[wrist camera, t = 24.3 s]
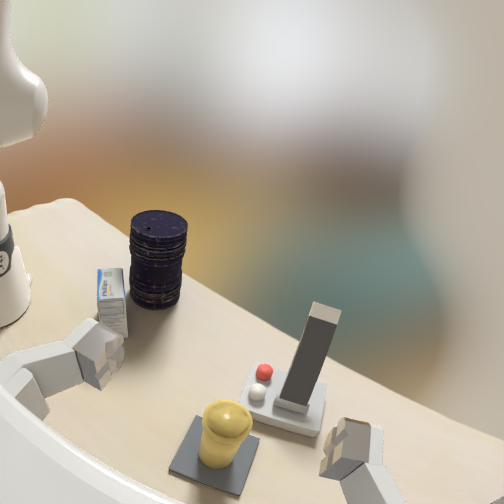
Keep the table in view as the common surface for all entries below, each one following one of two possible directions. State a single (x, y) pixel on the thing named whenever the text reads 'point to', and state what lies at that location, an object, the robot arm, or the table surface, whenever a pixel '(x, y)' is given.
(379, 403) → the table surface
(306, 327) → the toggle
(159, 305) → the storage jar
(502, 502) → the coffee mug
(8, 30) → the robot arm
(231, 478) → the pad
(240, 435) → the yellow lidded cup
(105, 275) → the medicine box
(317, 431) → the panel
